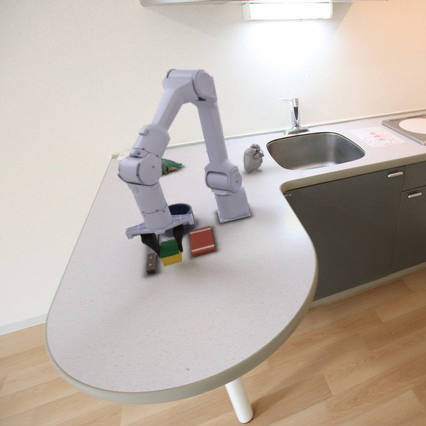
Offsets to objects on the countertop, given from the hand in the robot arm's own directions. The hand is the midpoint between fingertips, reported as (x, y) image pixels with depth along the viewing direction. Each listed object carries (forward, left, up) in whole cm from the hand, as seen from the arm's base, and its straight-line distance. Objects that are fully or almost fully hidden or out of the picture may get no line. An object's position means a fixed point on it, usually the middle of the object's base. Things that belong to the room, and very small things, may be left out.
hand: (171, 252), depth 78 cm
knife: (+6, -10, -4) cm, 12 cm away
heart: (-31, -50, -5) cm, 59 cm away
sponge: (0, 0, -1) cm, 1 cm away
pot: (-1, -19, -4) cm, 20 cm away
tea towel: (-7, -8, -4) cm, 12 cm away
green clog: (+6, -67, -5) cm, 67 cm away
